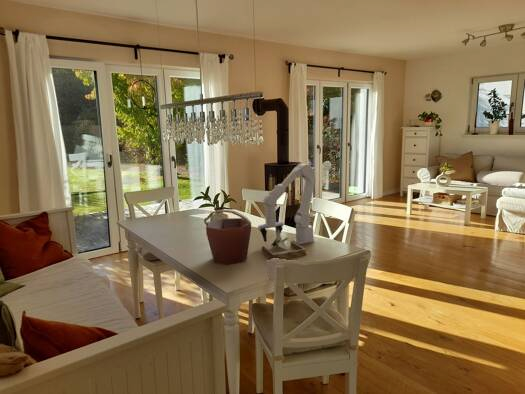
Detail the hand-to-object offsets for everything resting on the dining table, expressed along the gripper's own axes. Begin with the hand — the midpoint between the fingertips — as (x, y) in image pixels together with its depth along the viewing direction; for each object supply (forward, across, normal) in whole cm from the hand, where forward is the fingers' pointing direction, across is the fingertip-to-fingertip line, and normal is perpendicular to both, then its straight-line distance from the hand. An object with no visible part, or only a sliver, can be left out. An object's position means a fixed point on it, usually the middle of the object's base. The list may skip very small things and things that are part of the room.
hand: (271, 240), depth 207 cm
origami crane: (+3, -2, +7) cm, 8 cm away
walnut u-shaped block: (+3, 0, +15) cm, 15 cm away
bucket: (+3, +27, +9) cm, 29 cm away
